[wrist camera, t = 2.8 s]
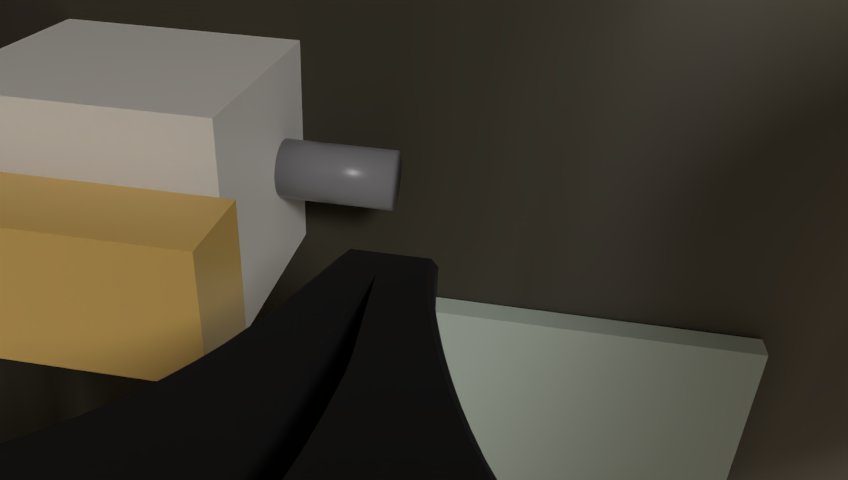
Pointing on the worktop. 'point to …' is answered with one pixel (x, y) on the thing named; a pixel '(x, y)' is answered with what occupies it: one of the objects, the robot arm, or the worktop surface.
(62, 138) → the plug
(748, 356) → the mat
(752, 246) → the worktop surface
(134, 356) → the mustard yellow beam
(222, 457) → the robot arm
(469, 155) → the worktop surface
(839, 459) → the worktop surface
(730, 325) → the worktop surface
